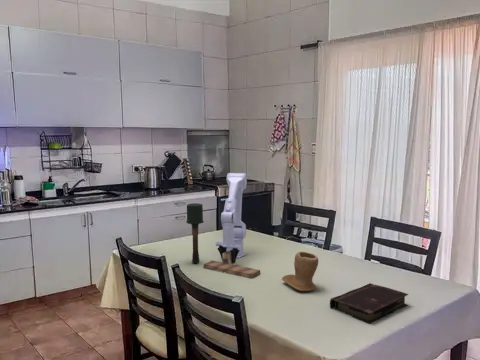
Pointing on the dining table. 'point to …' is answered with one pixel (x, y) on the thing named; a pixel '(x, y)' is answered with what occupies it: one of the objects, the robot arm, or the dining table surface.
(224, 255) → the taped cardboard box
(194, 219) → the potato masher grenade
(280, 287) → the dining table surface
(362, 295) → the diary
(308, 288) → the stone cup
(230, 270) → the board
